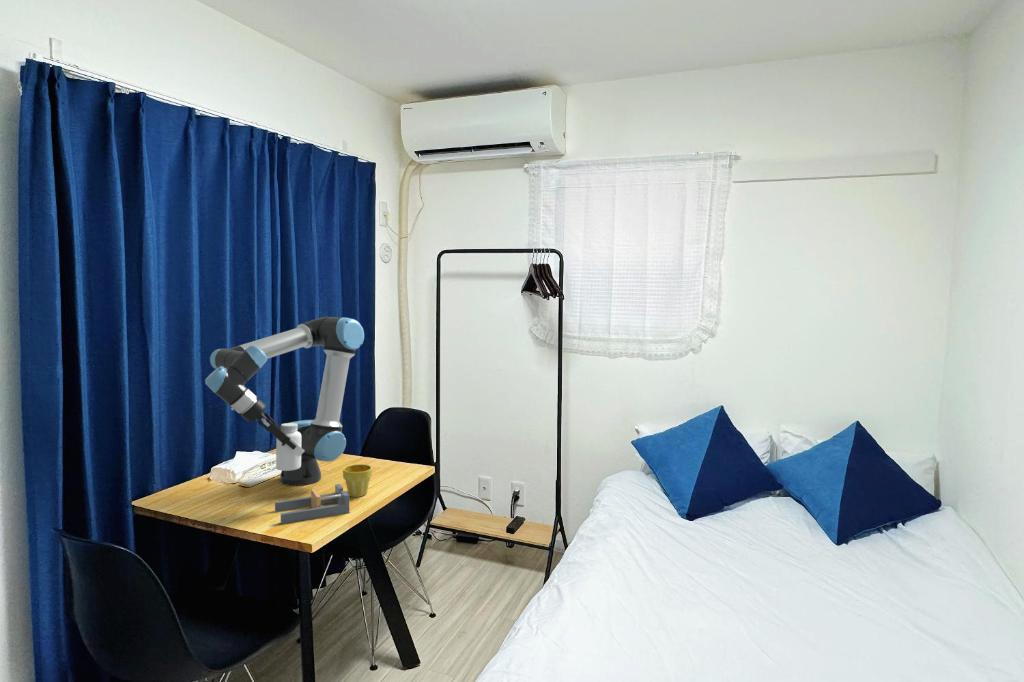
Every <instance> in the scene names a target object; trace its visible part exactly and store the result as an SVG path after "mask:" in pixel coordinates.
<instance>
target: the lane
mask: <svg viewBox="0 0 1024 682" xmlns="http://www.w3.org/2000/svg"><path fill="white" fill-rule="evenodd" d="M338 494H341V497H338V498H332V499H325V500H321V507H317V508H312V506H311V496H305V497H299V498H298V497H297V498H291V499H284V500H278V501H274V512H275V513H279V512H281V513H280V524H281V525H284V524H290V523H297V522H302V521H308V520H314V519H320V518H326V517H331V516H337V515H344V514H350V496H349V494H348V491H347V490H344V487H343V486H342V485H341V484H340V483H336V484H335V486H334V492H332V493H325V494H319V495H320V496H321V497H325V496H332V495H338ZM335 503H336V504H335ZM322 505H325V506H322ZM309 507H311V508H309ZM303 508H307V509H303ZM296 509H299V510H296ZM291 510H292V511H291ZM293 510H294V511H293ZM285 511H286V512H285Z"/></svg>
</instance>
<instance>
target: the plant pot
mask: <svg viewBox="0 0 1024 682" xmlns="http://www.w3.org/2000/svg"><path fill="white" fill-rule="evenodd" d="M372 476H373V467H372V466H371V465H369V464H364V463H357V464H349V465H347V466H345V467H343V468H342V478H343V480H345V484H346V489H347V490H346V491H347V493H348V494H349V497H352V498H360V497H364V496H366V495H367V494H368V490H369V487H370V486H369V485H370V481H371V478H372Z"/></svg>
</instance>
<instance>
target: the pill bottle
mask: <svg viewBox="0 0 1024 682" xmlns="http://www.w3.org/2000/svg"><path fill="white" fill-rule="evenodd" d="M280 427H281V431H282V432H283V433H285V434H286V435H287V436H288V437H289V438H291V439H292V440H293V441H294V442H295V443H296V444H298V445H299V446H300V447H301V433H300V432H298V431H297V430H298V429H297V428H298V425H297V424H296V423H291V422H287V423H286V422H285V423H281V425H280ZM275 438H276V437H275ZM275 440H276V446H275V447H276V449H275V450H276V451H275V452H276V454H275V462H276V463H275V467H276V470H279V471H291V470H296V469H299V468H300V467H301V455H300V456H299V457H298V456H297V455H296V454H294V453H293V452H292V451H291V450H290V449H289V448H288V447H286V446H285V445H284V446H282V442H281V441H279V440H278V439H277V438H276V439H275Z"/></svg>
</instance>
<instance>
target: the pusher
mask: <svg viewBox="0 0 1024 682" xmlns="http://www.w3.org/2000/svg"><path fill="white" fill-rule="evenodd" d="M310 490H311V491H310V497H311V508H317V507H322V505H321V500H325V499H332V498H338V497H341V494H338V495H332V496H325V497H321V496H320V495H321V494H319V492H318V491H317V489H316V488H311V489H310Z"/></svg>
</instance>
